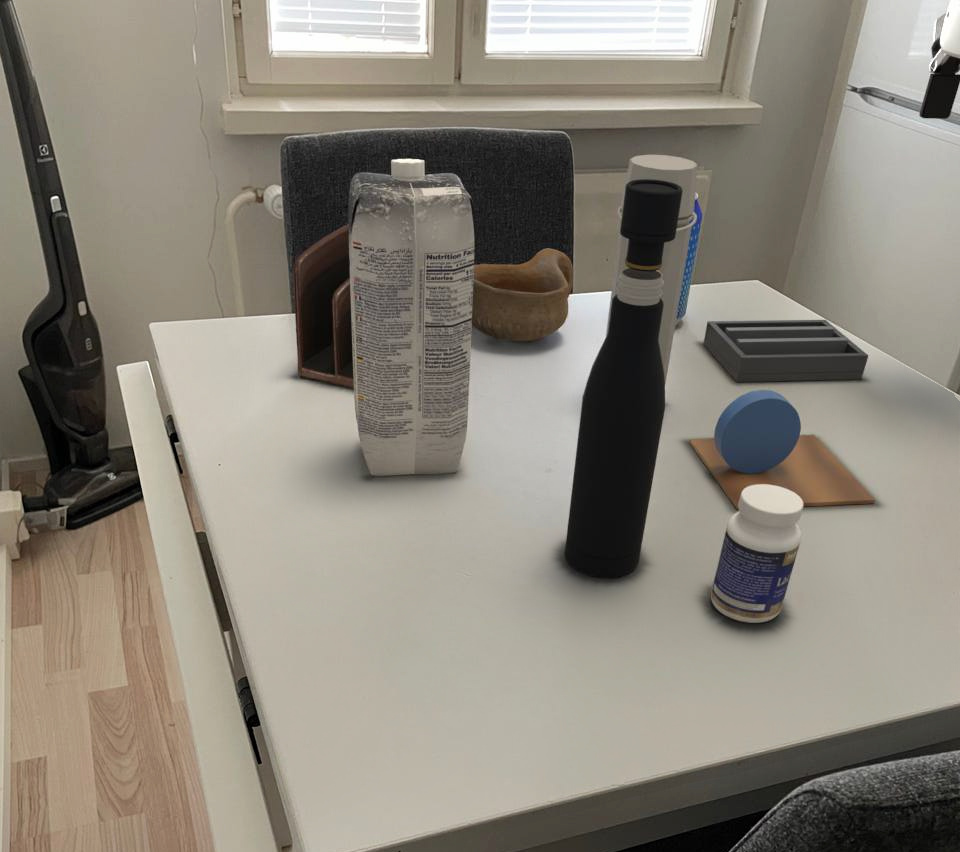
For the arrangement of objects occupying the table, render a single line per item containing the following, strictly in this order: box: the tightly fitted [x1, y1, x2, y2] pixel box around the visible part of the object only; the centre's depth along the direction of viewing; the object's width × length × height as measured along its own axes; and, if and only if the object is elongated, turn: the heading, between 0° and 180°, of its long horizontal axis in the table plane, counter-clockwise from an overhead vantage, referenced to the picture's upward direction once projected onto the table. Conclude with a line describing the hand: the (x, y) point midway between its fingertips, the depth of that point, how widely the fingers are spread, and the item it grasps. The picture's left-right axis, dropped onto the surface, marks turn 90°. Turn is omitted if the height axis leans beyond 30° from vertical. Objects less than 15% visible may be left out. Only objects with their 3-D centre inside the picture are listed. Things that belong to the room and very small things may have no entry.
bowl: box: [472, 247, 574, 343], centre depth 125 cm, size 18×14×10 cm
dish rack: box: [703, 319, 869, 383], centre depth 122 cm, size 16×12×4 cm
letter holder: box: [292, 223, 354, 389], centre depth 114 cm, size 10×20×14 cm, turn 158°
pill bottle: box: [710, 484, 804, 624], centre depth 78 cm, size 6×6×10 cm
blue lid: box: [713, 389, 802, 474], centre depth 96 cm, size 8×2×8 cm
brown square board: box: [688, 434, 876, 510], centre depth 99 cm, size 14×14×1 cm
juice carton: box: [348, 158, 475, 477], centre depth 90 cm, size 9×10×27 cm
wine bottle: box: [564, 179, 683, 579], centre depth 76 cm, size 6×6×30 cm
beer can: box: [675, 191, 703, 327], centre depth 128 cm, size 8×8×16 cm
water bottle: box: [605, 154, 698, 385], centre depth 103 cm, size 9×8×25 cm
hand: (958, 127), depth 99 cm, fingers open, 9 cm apart
